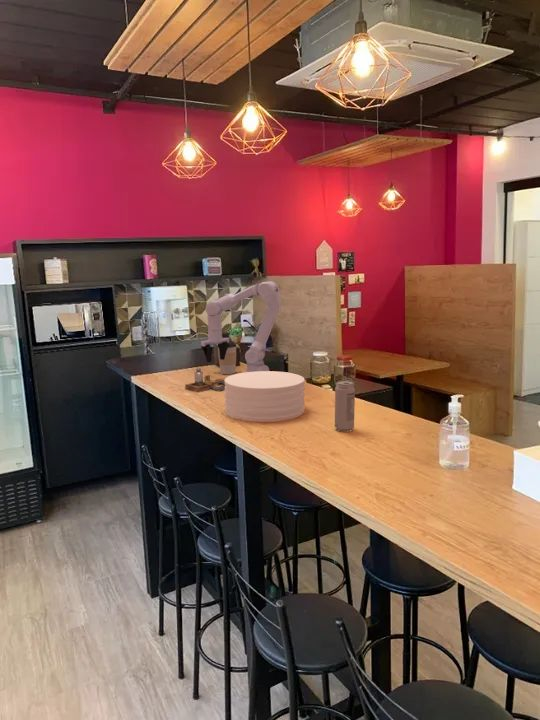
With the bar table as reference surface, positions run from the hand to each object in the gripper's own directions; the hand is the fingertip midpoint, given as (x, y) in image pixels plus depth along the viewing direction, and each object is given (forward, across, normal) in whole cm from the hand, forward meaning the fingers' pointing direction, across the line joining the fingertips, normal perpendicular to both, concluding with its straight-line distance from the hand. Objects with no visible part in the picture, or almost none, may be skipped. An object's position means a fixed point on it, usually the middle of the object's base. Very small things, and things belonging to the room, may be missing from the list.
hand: (215, 360), depth 241 cm
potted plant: (+10, -28, -23) cm, 38 cm away
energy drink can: (+10, +19, +82) cm, 85 cm away
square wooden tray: (+9, +14, +5) cm, 17 cm away
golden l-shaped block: (+9, +5, +3) cm, 11 cm away
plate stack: (+10, +19, +47) cm, 52 cm away
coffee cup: (+10, -16, -10) cm, 21 cm away
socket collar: (+9, +5, +8) cm, 13 cm away
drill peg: (+8, +14, +5) cm, 17 cm away
